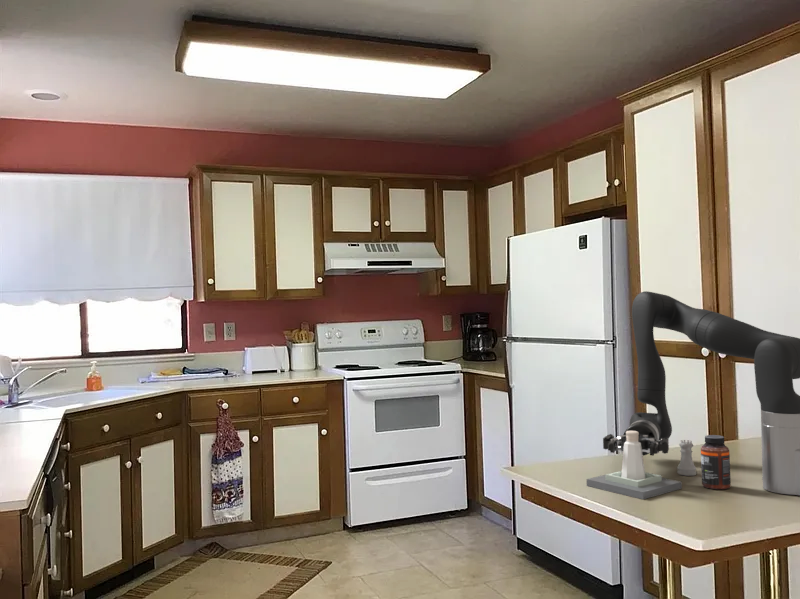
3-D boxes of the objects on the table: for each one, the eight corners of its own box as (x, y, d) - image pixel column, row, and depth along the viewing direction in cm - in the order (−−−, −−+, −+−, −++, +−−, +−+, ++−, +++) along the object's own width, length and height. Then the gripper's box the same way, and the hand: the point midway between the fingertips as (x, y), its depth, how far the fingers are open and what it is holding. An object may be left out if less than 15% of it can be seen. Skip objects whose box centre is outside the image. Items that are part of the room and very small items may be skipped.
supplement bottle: (732, 485, 160) (730, 435, 160) (729, 491, 155) (728, 439, 155) (703, 482, 163) (702, 433, 163) (699, 488, 158) (698, 437, 158)
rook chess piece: (698, 476, 169) (697, 442, 169) (678, 476, 170) (678, 442, 170) (694, 472, 173) (694, 439, 173) (675, 471, 174) (674, 439, 174)
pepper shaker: (637, 484, 156) (636, 434, 157) (616, 480, 161) (614, 431, 161) (650, 480, 160) (649, 431, 160) (629, 476, 164) (628, 428, 164)
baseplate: (681, 488, 158) (681, 476, 158) (643, 499, 150) (642, 486, 150) (625, 476, 170) (624, 465, 170) (586, 485, 162) (586, 473, 162)
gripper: (611, 420, 176) (598, 430, 162) (672, 423, 170) (664, 434, 155) (611, 450, 176) (599, 463, 162) (673, 454, 170) (665, 469, 155)
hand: (631, 449), depth 159 cm, fingers open, 8 cm apart
